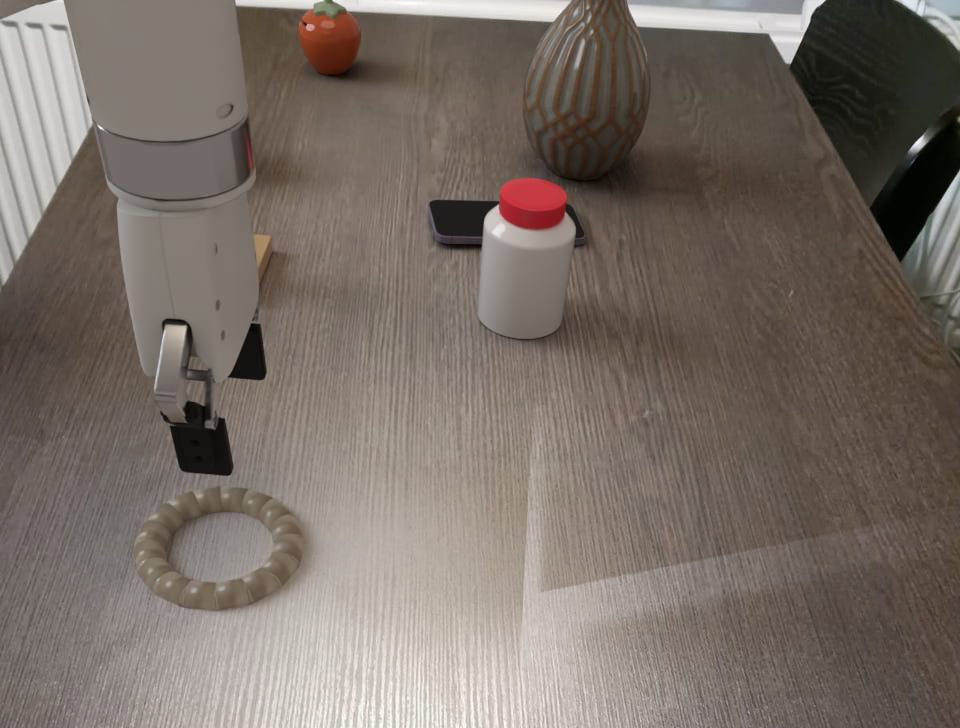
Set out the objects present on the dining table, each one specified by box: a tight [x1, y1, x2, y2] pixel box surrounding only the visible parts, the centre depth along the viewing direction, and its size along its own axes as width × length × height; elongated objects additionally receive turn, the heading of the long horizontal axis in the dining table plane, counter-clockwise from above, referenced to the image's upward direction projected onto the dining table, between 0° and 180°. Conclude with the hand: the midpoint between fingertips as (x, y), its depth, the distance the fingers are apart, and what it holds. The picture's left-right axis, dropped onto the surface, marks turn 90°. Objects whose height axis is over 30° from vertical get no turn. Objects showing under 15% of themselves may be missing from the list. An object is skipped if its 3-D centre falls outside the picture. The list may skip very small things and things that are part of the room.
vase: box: [522, 0, 652, 181], centre depth 99 cm, size 13×13×18 cm
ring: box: [133, 485, 305, 612], centre depth 65 cm, size 11×11×2 cm
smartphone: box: [427, 199, 586, 247], centre depth 96 cm, size 7×1×15 cm
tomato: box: [297, 0, 362, 76], centre depth 114 cm, size 7×7×8 cm
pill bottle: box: [476, 177, 576, 340], centre depth 82 cm, size 8×8×11 cm
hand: (226, 421), depth 62 cm, fingers open, 9 cm apart
